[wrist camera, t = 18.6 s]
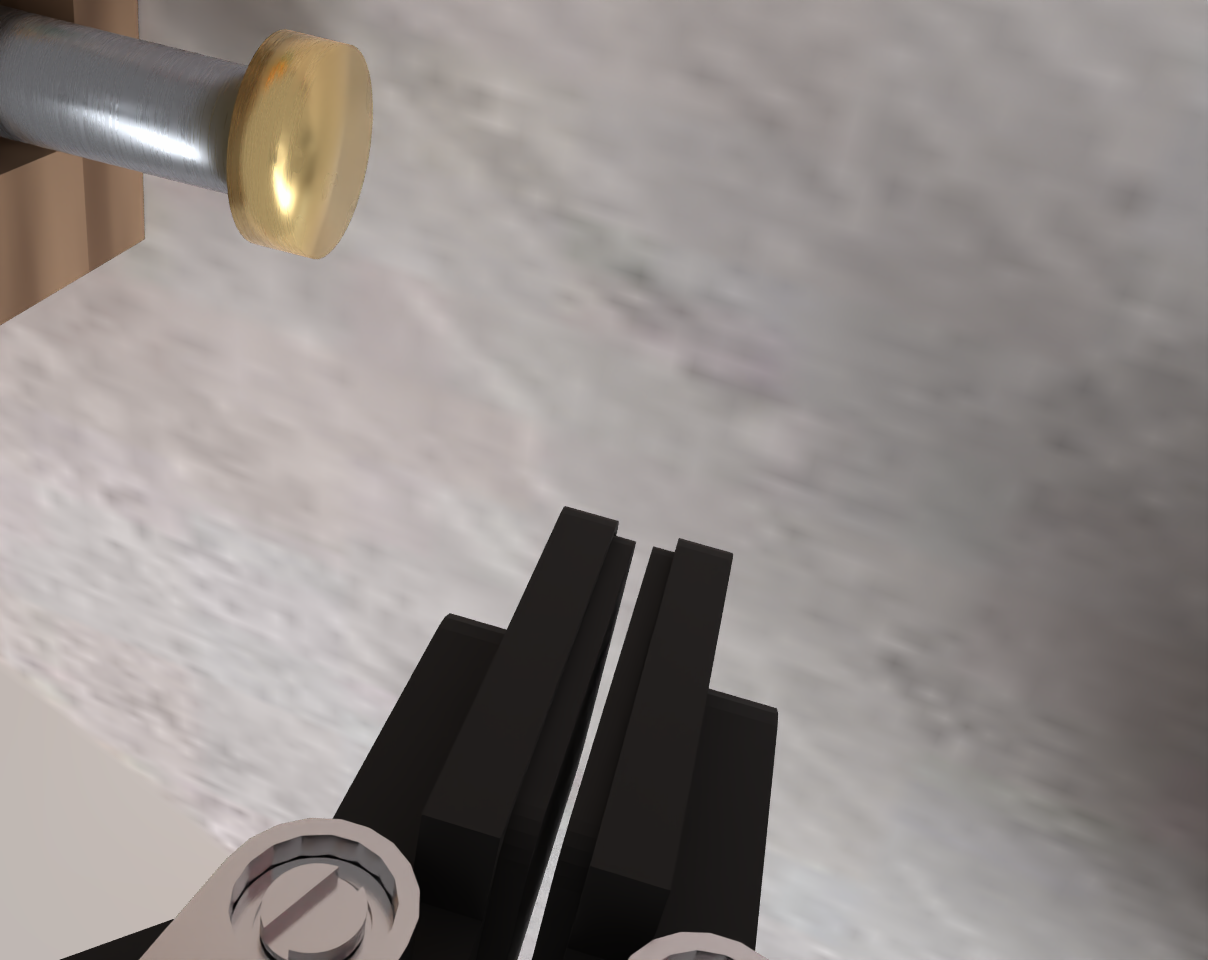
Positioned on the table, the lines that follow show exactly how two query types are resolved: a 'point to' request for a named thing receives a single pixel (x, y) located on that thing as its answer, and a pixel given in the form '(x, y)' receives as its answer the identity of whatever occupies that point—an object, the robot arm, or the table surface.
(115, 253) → the shaft housing
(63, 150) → the shaft
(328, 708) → the table surface
